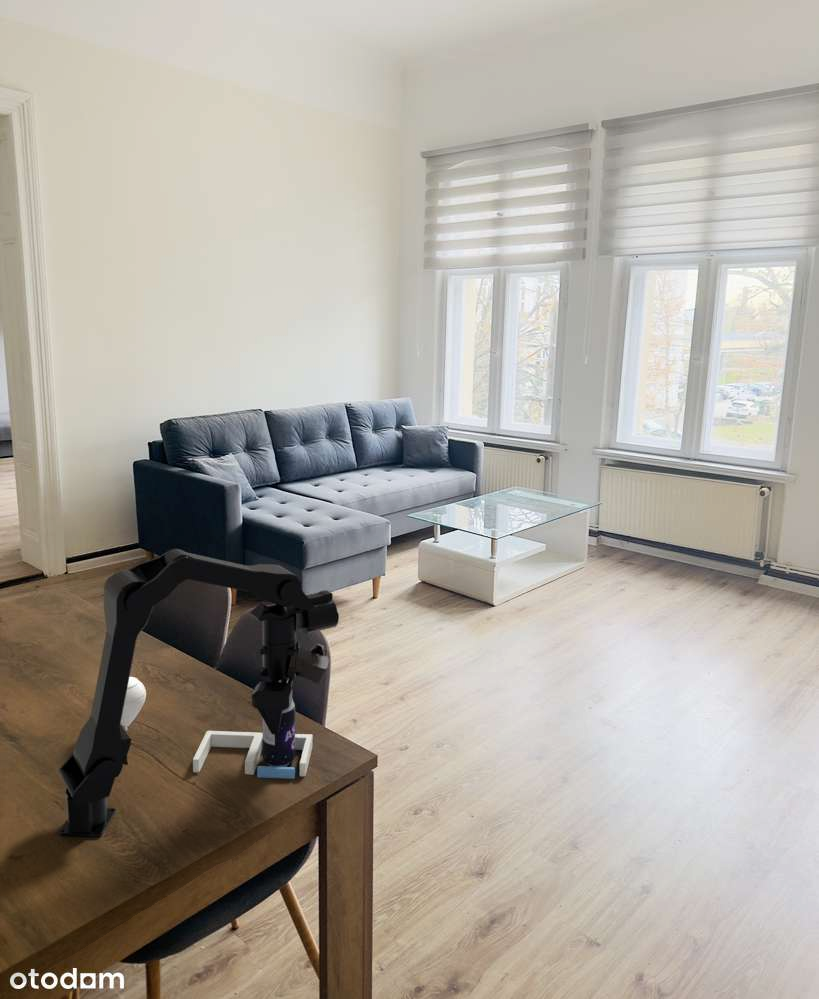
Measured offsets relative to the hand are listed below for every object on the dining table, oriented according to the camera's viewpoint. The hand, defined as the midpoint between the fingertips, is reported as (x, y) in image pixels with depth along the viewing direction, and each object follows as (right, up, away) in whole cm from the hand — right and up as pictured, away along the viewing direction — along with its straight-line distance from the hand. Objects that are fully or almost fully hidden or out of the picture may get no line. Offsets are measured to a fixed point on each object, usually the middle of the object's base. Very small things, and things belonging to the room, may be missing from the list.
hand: (279, 720), depth 140 cm
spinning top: (-31, -5, +10) cm, 33 cm away
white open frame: (-5, -8, +2) cm, 9 cm away
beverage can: (0, -8, +2) cm, 8 cm away
